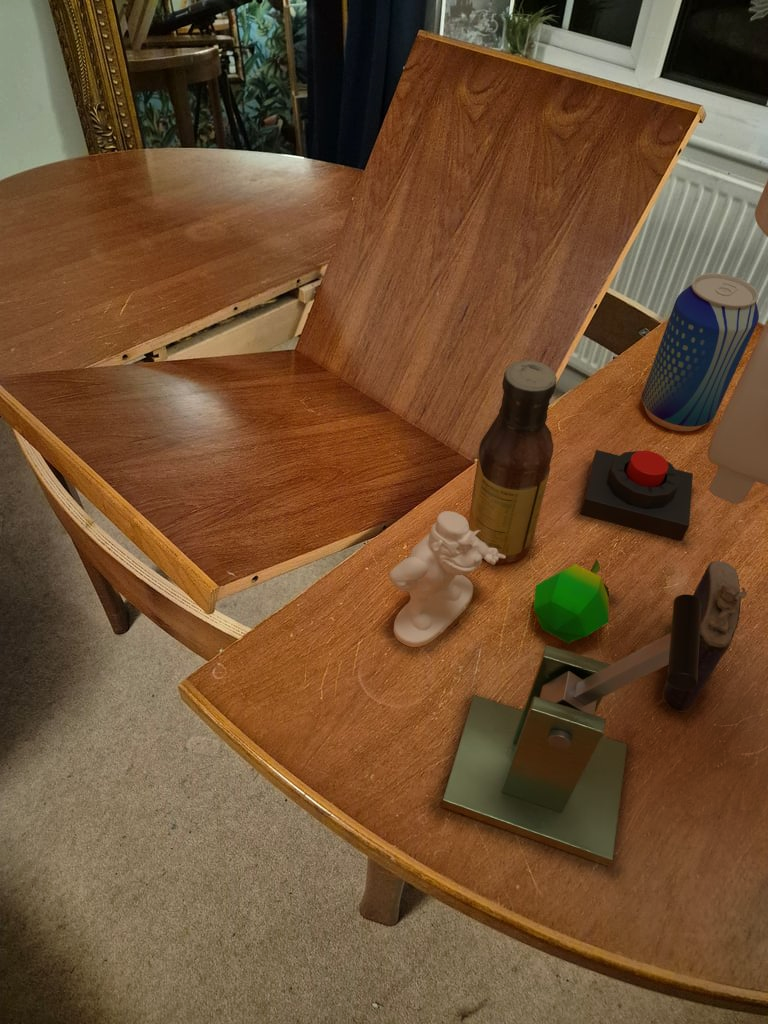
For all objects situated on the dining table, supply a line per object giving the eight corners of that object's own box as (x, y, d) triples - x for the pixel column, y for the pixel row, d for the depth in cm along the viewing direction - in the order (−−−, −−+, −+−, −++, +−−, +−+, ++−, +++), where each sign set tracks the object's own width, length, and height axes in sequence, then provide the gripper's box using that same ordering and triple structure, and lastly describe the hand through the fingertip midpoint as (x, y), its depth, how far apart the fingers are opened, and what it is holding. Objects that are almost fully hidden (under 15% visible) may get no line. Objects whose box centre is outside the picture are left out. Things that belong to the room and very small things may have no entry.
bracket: (623, 751, 57) (677, 657, 48) (608, 867, 51) (667, 785, 42) (471, 702, 59) (495, 604, 50) (440, 807, 53) (461, 717, 44)
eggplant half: (673, 620, 66) (718, 539, 58) (707, 632, 65) (757, 551, 57) (658, 706, 60) (705, 628, 52) (695, 719, 59) (749, 642, 51)
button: (664, 468, 75) (669, 455, 73) (661, 491, 72) (667, 478, 71) (628, 459, 75) (632, 446, 74) (624, 482, 73) (629, 469, 72)
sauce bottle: (502, 511, 74) (540, 340, 60) (543, 551, 71) (594, 379, 57) (450, 536, 72) (477, 363, 58) (490, 578, 68) (530, 406, 54)
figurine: (436, 667, 61) (452, 575, 53) (376, 624, 64) (381, 529, 56) (497, 602, 66) (521, 507, 58) (439, 564, 69) (453, 469, 61)
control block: (686, 488, 78) (699, 460, 75) (681, 541, 73) (695, 512, 70) (591, 464, 80) (600, 436, 77) (579, 514, 75) (589, 485, 72)
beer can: (724, 433, 85) (784, 308, 73) (656, 438, 84) (706, 312, 72) (691, 389, 91) (742, 267, 79) (627, 394, 89) (669, 270, 78)
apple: (570, 598, 58) (611, 527, 63) (506, 602, 62) (549, 536, 68) (609, 664, 60) (646, 591, 65) (545, 664, 65) (584, 595, 70)
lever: (713, 608, 41) (680, 585, 41) (710, 689, 38) (674, 665, 37) (574, 683, 50) (546, 665, 50) (561, 755, 46) (530, 736, 46)
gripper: (941, 328, 24) (765, 589, 34) (966, 148, 37) (832, 377, 47) (747, 271, 27) (634, 532, 36) (833, 119, 39) (731, 344, 49)
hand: (746, 443), depth 42 cm, fingers open, 8 cm apart
